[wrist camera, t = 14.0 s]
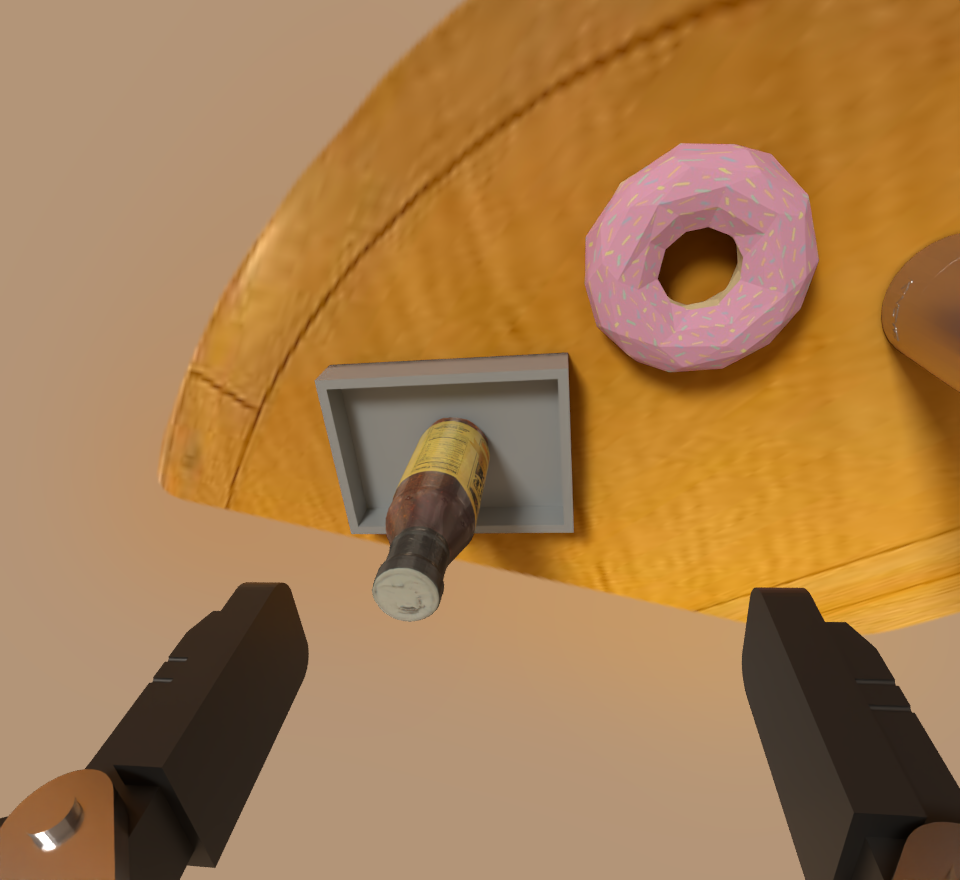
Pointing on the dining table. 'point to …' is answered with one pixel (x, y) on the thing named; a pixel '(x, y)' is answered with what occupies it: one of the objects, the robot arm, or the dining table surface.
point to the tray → (458, 394)
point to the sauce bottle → (431, 517)
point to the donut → (690, 206)
